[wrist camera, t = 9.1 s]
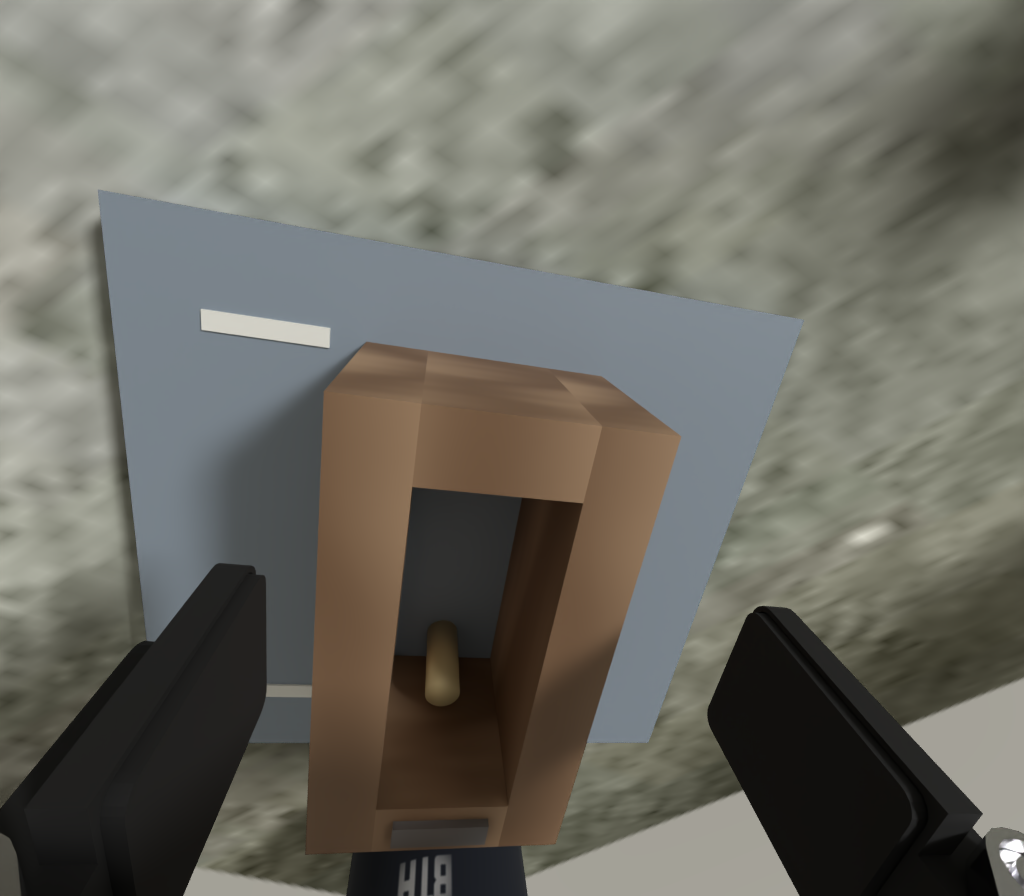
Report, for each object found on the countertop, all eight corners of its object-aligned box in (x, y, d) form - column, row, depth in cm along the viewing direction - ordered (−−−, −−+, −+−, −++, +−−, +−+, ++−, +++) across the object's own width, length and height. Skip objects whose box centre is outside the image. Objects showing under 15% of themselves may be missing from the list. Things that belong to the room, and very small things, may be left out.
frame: (601, 376, 14) (686, 439, 9) (526, 693, 18) (556, 852, 13) (366, 341, 13) (321, 394, 8) (342, 690, 17) (303, 863, 12)
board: (778, 315, 15) (874, 332, 12) (637, 716, 21) (675, 806, 18) (129, 195, 12) (4, 172, 8) (175, 712, 18) (111, 822, 14)
